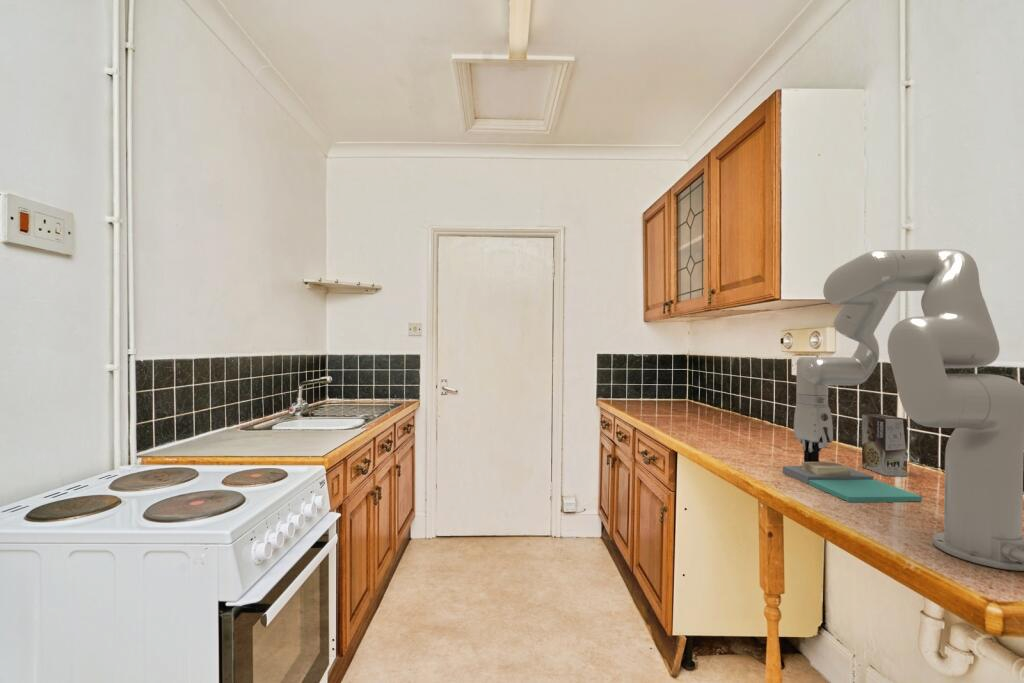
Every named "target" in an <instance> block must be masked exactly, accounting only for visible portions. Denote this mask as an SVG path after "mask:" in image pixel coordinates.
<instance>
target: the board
mask: <svg viewBox="0 0 1024 683" xmlns="http://www.w3.org/2000/svg"><path fill="white" fill-rule="evenodd" d="M782 474H784V475H786V476H789V477H790V476H791V477H790V478H793V479H794V480H797V481H799V480H800V482H802V483H804V484H806V485H809V480H874V476H873V475H871V474H869V473H865V472H863V471H859V470H857V469H854V468H851V471H850V475H816V474H813V473H811V472H808V471H806V470H803V469H802V465H783V466H782Z"/></svg>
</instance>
